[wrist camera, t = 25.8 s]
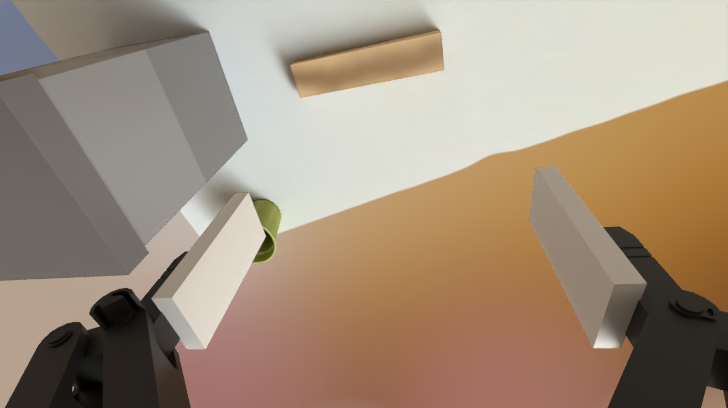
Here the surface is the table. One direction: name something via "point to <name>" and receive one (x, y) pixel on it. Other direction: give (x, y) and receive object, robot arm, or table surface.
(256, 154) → the table surface
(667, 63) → the table surface
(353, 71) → the oak slat
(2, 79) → the grey box
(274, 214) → the plant pot
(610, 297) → the robot arm
